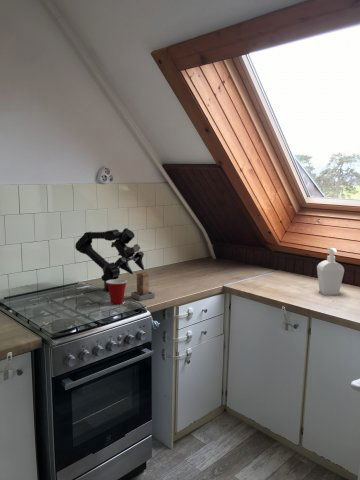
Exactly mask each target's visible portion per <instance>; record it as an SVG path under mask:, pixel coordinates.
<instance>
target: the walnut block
mask: <svg viewBox="0 0 360 480" xmlns="http://www.w3.org/2000/svg"><path fill="white" fill-rule="evenodd" d="M149 275H150V274H149V272H145V271H140V272H136V291H137V295H139V296H143V295H148V294H149V291H150V290H149V283H150V280H149V277H150V276H149Z"/></svg>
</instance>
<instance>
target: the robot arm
mask: <svg viewBox="0 0 360 480" xmlns="http://www.w3.org/2000/svg"><path fill="white" fill-rule="evenodd" d="M134 238H135V232H134V231H132V230H131V229H129V228H126V227H125V228H124V229H123V231H119V229H110V230H105V231H86V232H84V233H83V235H82V236H81V237H80V238H79V239H78V241H76V243H75V250H76V251H77V252H79V253H81V254H83V255H86V256H87V257H88V258H90V260H92V261H93V262H94V263H95V264H96V265H97V266H98V267H99V268H101V270H102V272H103V273H102V274H103V275H101V280H102V281H103V288H102V290H104V291H106V292H108V293H109V289H108V285H107V283H106V281H108V280H114V279H119V276H120V275H121V274H120V273H121V270H123V271H125V272H127V273H128V274H131V275H133V274H134V271H133V270H132V267H130V265H129V262H130V261H133V262H134V263H135V264H136V265H137V266H138V267H139V268H140V269H141V270H142V271H144V270H145V266H144V262H143V258H144V256H145V254H144V251H140V250H141V247H140V245H139V244H138V243H137V244H134V245H133V246H128V244H129V243H130V242H131V241H132V240H133V239H134ZM93 239H95V240H98V239H99V240H102V239H103V240H105V241H109V242H111V241H112V242H111V245H110V247H111V248H115V249H116V250H117V252H118V254H117V255H118V256H120V257H118V258H117V260H116V261H115V262H113V261H112V262H108V261H107V260H106V259H105V258H103V256H102V255H100V254H99V253H98V252H97V251H96V250H94V248H93V245H92V243H93Z"/></svg>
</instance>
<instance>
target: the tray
mask: <svg viewBox="0 0 360 480" xmlns="http://www.w3.org/2000/svg"><path fill="white" fill-rule="evenodd" d="M155 296H156V295H155V292H152V291H150V290H149V294H148V295H143V296H139V295H137V290H136V291H132V292H131V293H130V297H131V298H133V299H135V300H137V301H138V302H142V301H147V300H151V299H155Z"/></svg>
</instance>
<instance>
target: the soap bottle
mask: <svg viewBox="0 0 360 480" xmlns="http://www.w3.org/2000/svg"><path fill="white" fill-rule="evenodd" d="M326 250H327V251H329V254H327V257H326V259H325V260H322V261H321V262H319V263H318V264H317V265H316V272H317V280H318V290H319V292H320V294H322V295H324V296H328V295H329V296H331V295H332V296H333V295H335V296H336V295H337V296H338V295H339V294H340V289H341V286H342V282H343V278H344V273H345V267H344V266H343V265H342V264H340V263H339V262H338V261H337V262H336V256H335V255H334V254H336V253H338V251H337V249H336V248H335V247H328V248H326Z"/></svg>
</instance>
